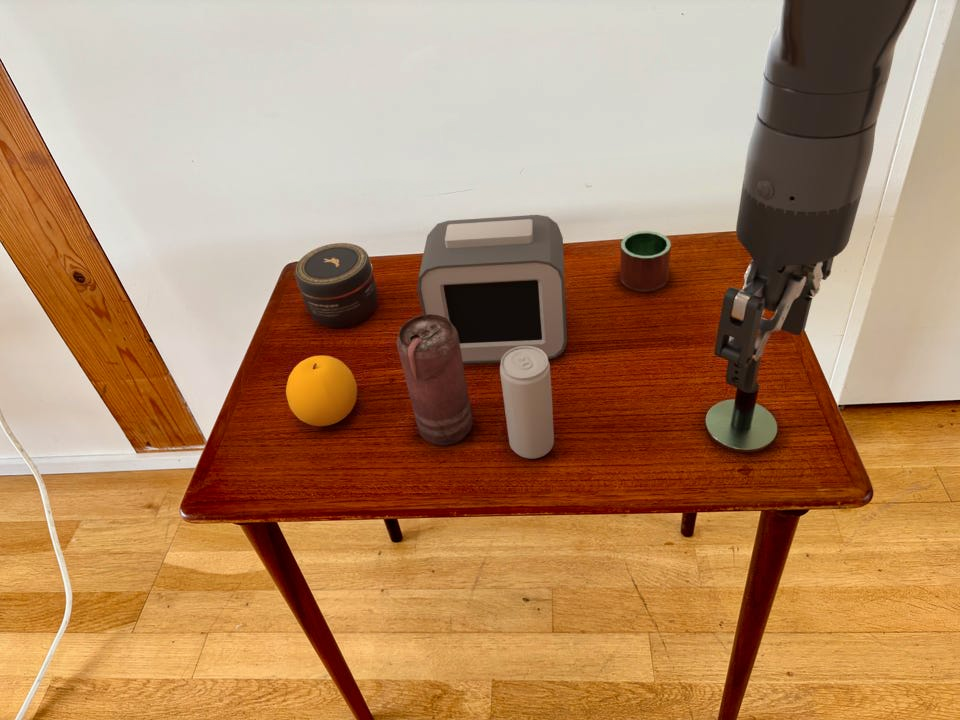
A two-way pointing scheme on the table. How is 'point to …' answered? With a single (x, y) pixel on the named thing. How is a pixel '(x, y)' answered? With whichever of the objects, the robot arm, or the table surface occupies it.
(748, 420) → the lid
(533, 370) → the beverage can
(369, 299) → the jar
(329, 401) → the orange
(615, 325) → the table surface
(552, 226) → the alarm clock
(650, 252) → the pot
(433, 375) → the can
